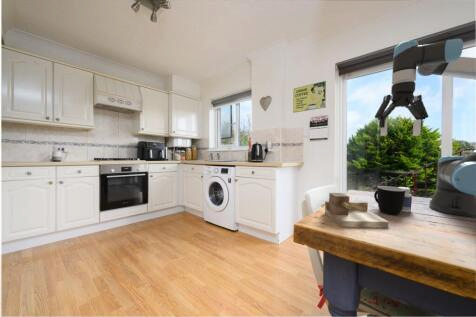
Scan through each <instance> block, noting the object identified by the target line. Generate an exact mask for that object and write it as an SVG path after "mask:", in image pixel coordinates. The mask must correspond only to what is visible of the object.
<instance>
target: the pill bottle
mask: <svg viewBox="0 0 476 317" xmlns="http://www.w3.org/2000/svg"><path fill="white" fill-rule="evenodd" d="M397 188H402V189H404V190H405V198H404V203H403V207H402V210H401V212H402V213H411V211H412V202H413V201H412V200H413V195H412V194H411V193H410V192H411V188H410V187H404V186H398V187H397ZM401 212H400V213H401Z"/></svg>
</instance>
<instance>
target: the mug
mask: <svg viewBox="0 0 476 317" xmlns="http://www.w3.org/2000/svg"><path fill="white" fill-rule="evenodd" d="M373 197H374V200H375V201H376V203H377V206H378V210H379V212H380V213H382V214H384V215H391V216H399V215H400V214H401V210H402V207H403V203H404V198H405V190H404V189H402V188H398V187H397V186H390V185H389V186H387V185H382V186H381V185H379V186H377V190H375V192H374V194H373Z"/></svg>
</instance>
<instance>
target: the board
mask: <svg viewBox="0 0 476 317" xmlns="http://www.w3.org/2000/svg"><path fill="white" fill-rule="evenodd" d="M349 205H350V206H352V207H353V210H349V213H348V215H334V214H333V213H331V212H330V211H329V200H327V201H326V200H325V202H324V214H325V215H326V216H327V217H328V218H330V219H331V220H332V221H333V222H335V224H337V225H338V226H339V227H340V228H389V224H390V221H388V220H386V219H385V218H382V217H381V216H379V215H377V214H376V213H373V212H371V211H369V210H368V205H369V203H368V202H367V201H349Z"/></svg>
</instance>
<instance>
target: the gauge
mask: <svg viewBox="0 0 476 317" xmlns="http://www.w3.org/2000/svg"><path fill="white" fill-rule="evenodd" d="M328 198H329V199H328V201H329V211H330V212H331V213H333V214H334V215H348V213H349V210H353V207H352V206H350V205H349V202H350V195H347V194H345V193H343V192H329V195H328Z"/></svg>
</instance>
